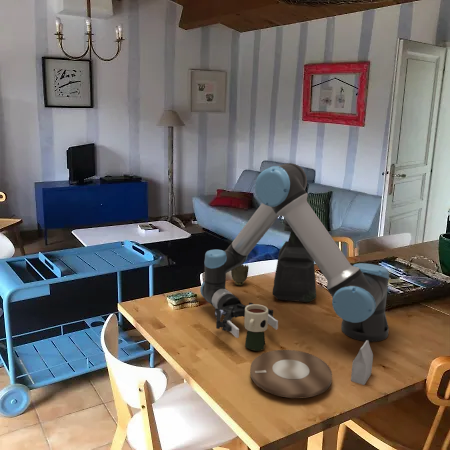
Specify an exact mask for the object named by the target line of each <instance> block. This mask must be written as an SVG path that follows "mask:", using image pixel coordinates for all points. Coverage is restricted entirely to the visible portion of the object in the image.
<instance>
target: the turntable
mask: <svg viewBox="0 0 450 450" xmlns="http://www.w3.org/2000/svg"><path fill="white" fill-rule="evenodd" d="M249 372H250V374H249V375H250V378H251V380H252V381H253V383H254V384H255V385H256V386H257V387H258V388H260V389H261V390H263V391H265V392H266V393H268V394H271V395H274V396H277V397H283V398H289V399H306V398H311V397H315V396H319V395H321V394H323V393H324V392H326V391H327V390H329V388H330V386H331V385H332V379H333V373H332V370H331V367H330V365H328V363H326V362H325V361H324V360H323V359H321V358H320V357H318V356H317V355H313V354H311V353H308V352H305V351H301V350H295V349H276V350H275V349H274V350H269V351H266V352H263V353H261V354H259V355H258V356H256V357H255V358H253V360H252V361H251V363H250V371H249Z"/></svg>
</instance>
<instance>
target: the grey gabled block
mask: <svg viewBox="0 0 450 450" xmlns="http://www.w3.org/2000/svg"><path fill="white" fill-rule="evenodd" d="M373 358H374V354H373V351H372V348H371V346H370V342H369V341H367V340H366V341H364V343H363V345H362V346H361V347H360V349H359V351H358V353H357V355H356V356H355V358H354V359H353V360H352V364H351V366H352V367H351V375H350V376H351V377H350V381H351V382H353V383H356V384H359V385H363V386H365V385H366V383H367V382H368V380H369V378H370V377H371V375H372V371H373V370H372V368H373V360H374V359H373Z"/></svg>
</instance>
